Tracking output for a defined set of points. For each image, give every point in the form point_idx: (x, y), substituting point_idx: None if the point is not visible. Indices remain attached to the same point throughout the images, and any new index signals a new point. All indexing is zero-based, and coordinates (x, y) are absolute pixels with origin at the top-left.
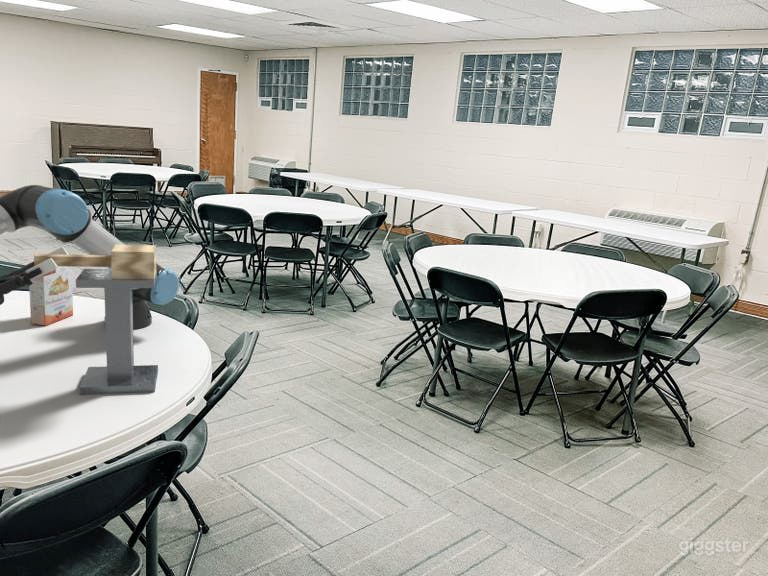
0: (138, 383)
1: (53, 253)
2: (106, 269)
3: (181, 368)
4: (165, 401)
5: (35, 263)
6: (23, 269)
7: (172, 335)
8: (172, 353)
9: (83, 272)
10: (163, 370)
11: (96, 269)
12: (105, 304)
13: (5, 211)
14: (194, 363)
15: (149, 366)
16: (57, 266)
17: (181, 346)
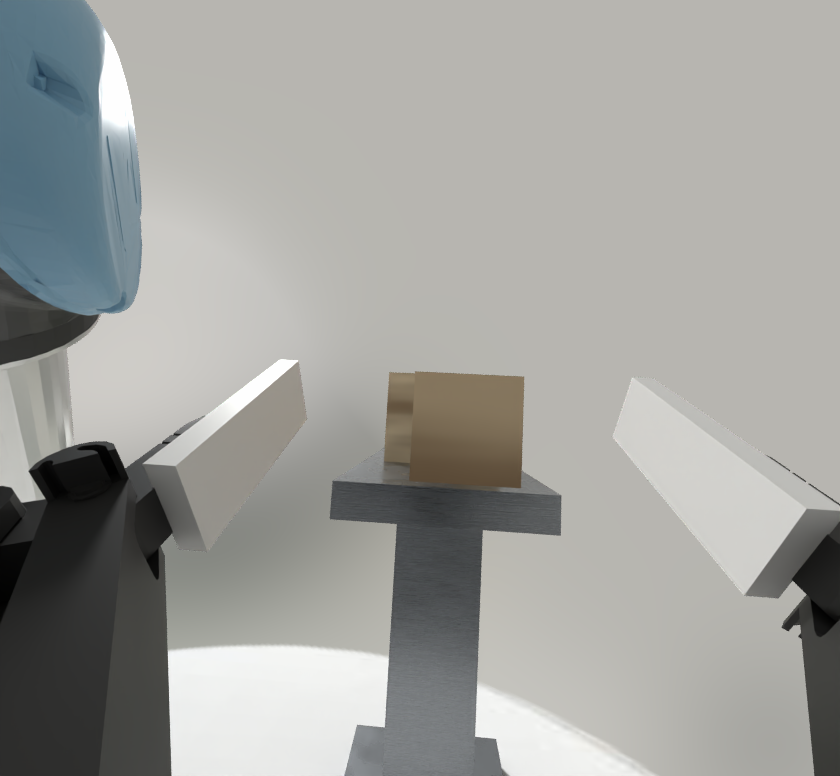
0: None
1: (267, 402)
2: (365, 465)
3: (351, 692)
4: (548, 738)
5: (517, 458)
6: (110, 739)
7: None
8: (236, 703)
9: (412, 483)
10: (350, 732)
11: (359, 471)
12: (480, 576)
13: None
14: (331, 666)
15: (360, 747)
16: (615, 432)
17: (200, 680)
